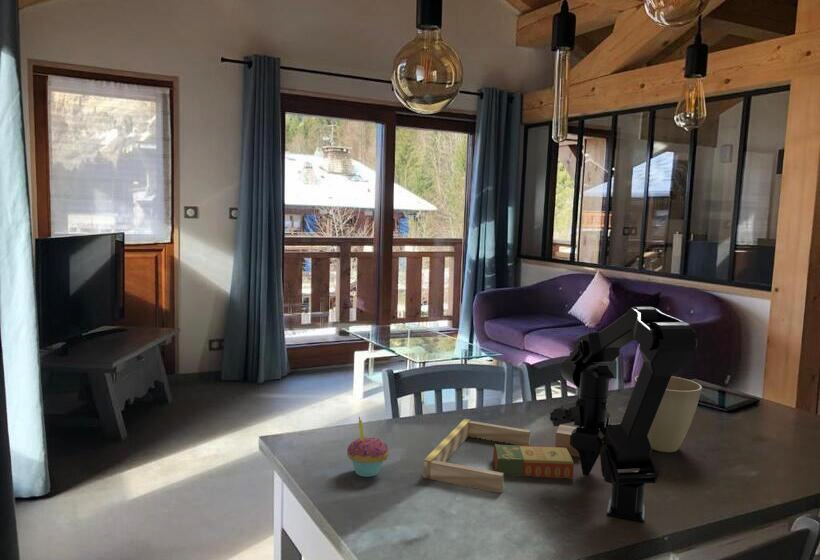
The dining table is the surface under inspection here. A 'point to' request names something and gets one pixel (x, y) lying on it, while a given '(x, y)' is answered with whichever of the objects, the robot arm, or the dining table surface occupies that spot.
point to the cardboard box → (565, 439)
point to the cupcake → (367, 454)
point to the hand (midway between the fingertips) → (588, 467)
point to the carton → (533, 461)
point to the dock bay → (463, 474)
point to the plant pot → (674, 414)
